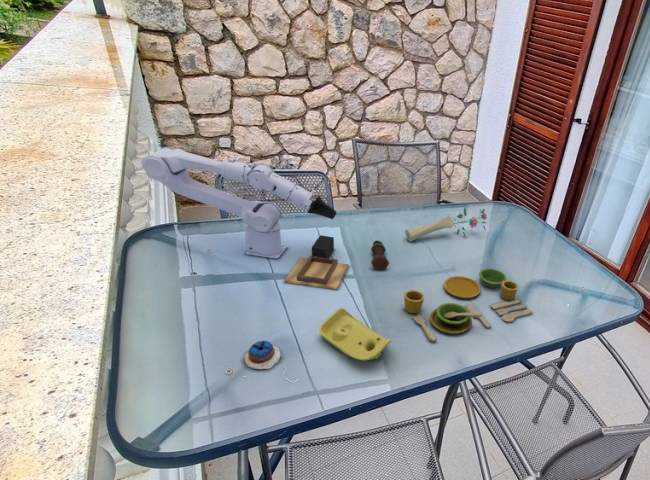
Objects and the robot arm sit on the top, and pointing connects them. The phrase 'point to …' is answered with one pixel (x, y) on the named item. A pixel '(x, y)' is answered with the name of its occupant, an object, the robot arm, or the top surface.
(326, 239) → the black rectangular block
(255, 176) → the robot arm
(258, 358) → the dessert
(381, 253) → the brown figurine
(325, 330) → the plastic component
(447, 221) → the flower vase
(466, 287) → the tableware set
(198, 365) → the top surface
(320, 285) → the mount plate
